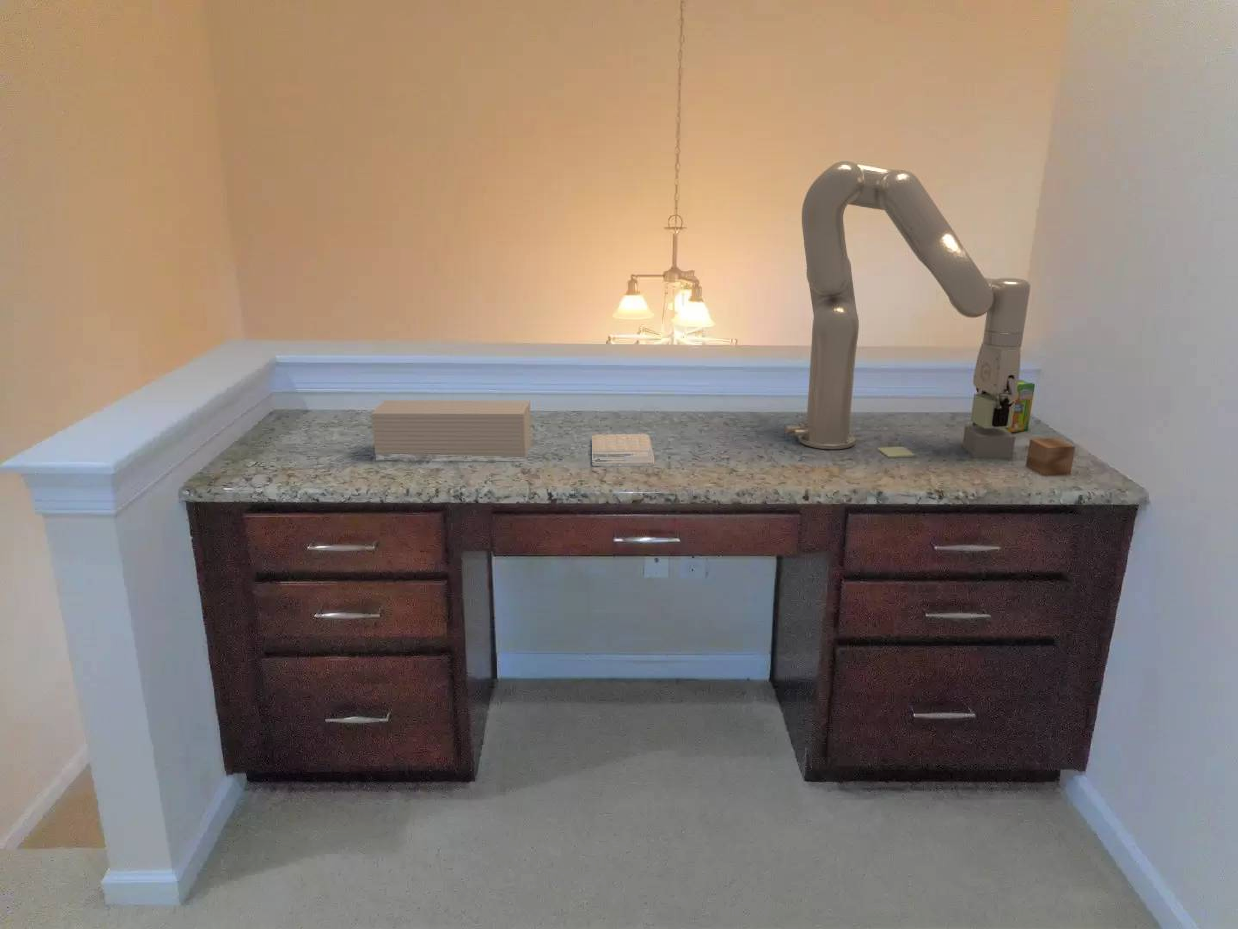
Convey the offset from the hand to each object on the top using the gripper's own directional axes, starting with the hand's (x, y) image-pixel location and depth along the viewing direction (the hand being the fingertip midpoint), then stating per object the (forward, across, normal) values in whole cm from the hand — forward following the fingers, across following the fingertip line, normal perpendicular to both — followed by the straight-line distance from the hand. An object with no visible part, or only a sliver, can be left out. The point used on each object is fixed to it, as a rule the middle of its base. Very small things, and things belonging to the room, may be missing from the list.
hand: (990, 421), depth 186 cm
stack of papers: (+8, -15, -115) cm, 116 cm away
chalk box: (+7, -17, +13) cm, 23 cm away
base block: (+7, 0, 0) cm, 7 cm away
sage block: (+1, 0, 0) cm, 1 cm away
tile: (+7, -2, -20) cm, 21 cm away
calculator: (+8, -11, -79) cm, 80 cm away
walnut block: (+7, +13, +6) cm, 16 cm away
